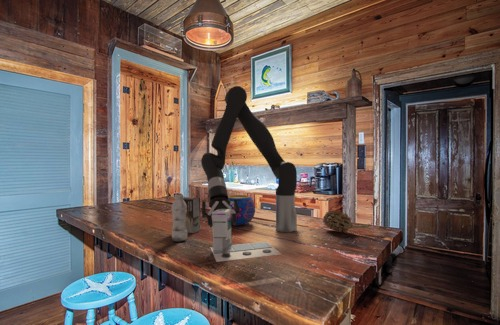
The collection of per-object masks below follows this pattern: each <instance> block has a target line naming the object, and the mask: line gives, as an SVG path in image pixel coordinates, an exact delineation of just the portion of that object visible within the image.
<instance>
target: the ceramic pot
mask: <svg viewBox="0 0 500 325" xmlns="http://www.w3.org/2000/svg"><path fill="white" fill-rule="evenodd" d="M228 199H229V201H234V200H237V202H238V206H239V209H240V212H239V215H236V219H237V222H236V224H235V225H234V226H244V225H247V224H249V223H250V222H252V220H253V219H254V216H255V213H256V206H255V202H254V201H253V199H252V197H250V196H249V195H246V194H234V195H228ZM230 206H231V207H232V209H233V210H234V211H235V209H234V207H233V206H232V205H230ZM231 217H232V216H231ZM231 225H233V224H232V218H231Z"/></svg>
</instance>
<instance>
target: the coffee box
mask: <svg viewBox="0 0 500 325" xmlns="http://www.w3.org/2000/svg"><path fill="white" fill-rule="evenodd" d="M183 200H184V201H185V203H186V205H187V211H186V229H187V234H195V233H198V232H200V231H201V198H200V197H191V196H190V197H189V196H184V198H183Z"/></svg>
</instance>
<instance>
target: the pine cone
mask: <svg viewBox="0 0 500 325" xmlns="http://www.w3.org/2000/svg"><path fill="white" fill-rule="evenodd" d="M322 218H323V221H322V222H323V223H324V225H325V226H326V227H328V228H329V230H332V231H335V232H340V233H342V232H343V233H345V234H346V233H347V232H348V231H349V230H351V229H352V228H353V229H360V228H361V229H367V228H368V229H369V228H370V226H371V223H367V224H358V225H357V224H354V223H352V218H351V216H348V214H347V213H344V212H341V211H340V210H333V209H332V210H329V211H326V213H324V215H323V217H322Z"/></svg>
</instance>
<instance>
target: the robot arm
mask: <svg viewBox="0 0 500 325" xmlns="http://www.w3.org/2000/svg"><path fill="white" fill-rule="evenodd" d="M247 99H248V94H247V91H246V90H245V88H244V87H242V86H239V85H235V86H232V87H231V88H229V89H228V90H227V92H226V93H225V96H224V101H225V104H226V106H225V108H224V112H223V115H222V117H221V119H220V121H219V124H218V126H217V128H216V129H215V133H214V136H213V139H212V142H211V148H213V149H214V150H215V151H216V153H217V154H215V153H212V152H205V153H204V154H203V155H202V157H201V160H200V163H201V168H202V169H203V171H204V173H205V176H206V178H207V192H208V198H209V199H208V200H209V202H206V201H204V200H203V201H201V218H203V219H204V218H206V219H207V225H208V227H210V228H213V227H212V212H214V211H215V210H218V209H231V216H232V217H231V218H232V224H231V225H232V226H236V225H235V224H236V222H237V219H236V215H239V212H240V209H239V206H238V202H237V200H234V201H229V199H228V196H229V195H228V194H229V192H228V189H227V184H226V181H225V177H224V171H222V170H223V169H224V167H225V165H226V154H227V147H228V144H229V141H230V138H231V136H232V133H233V130H234V126H235V124H236V121H237V119H238V121H239V122H240V124H241V125H242V127H243V128H244V130H245V132H246V133H247V135H248V137H249V138H250V139H251V141H252V142H253V144H254V145H255V147H256V148H257V150H258V152H260V154H261V156H263V158H264V160H266V162H267V164H268V166H269V168H270V170H271V172H272V173H273V175H274V176H275V178H276V179H277V180H278V185H277V188H276V189H275V230H276V231H277V232H280V233H292V232H295V231H297V230H298V228H297V226H298V224H297V223H298V222H297V218H298V217H297V213H298V212H297V210H296V200H295V199H296V197H295V196H296V190H297V179H298V176H297V174H298V172H297V167H296V165H295V164H294V163H293V162H290V161H285V159H284V158H282V156H281V154H280V153H279V152H278V151H279V150H278V149H277V147H276V143H275V140H274V138H273V135H272V134H271V132H270V130H269V129H268V128H267V126H266V125H265V124H264V122H262V121H261V120H260V119H259V118H258V117H257V116H256V115H255V114H254V113H253V112H252V111H251V109H250V108H249V105H248V104H247ZM230 205H232V206H233V207H234V209H235V211H234V210H233V209H232V207H231V206H230ZM208 207H209V208H210V209H209V211H208V212H207V211H206V209H208Z"/></svg>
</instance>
